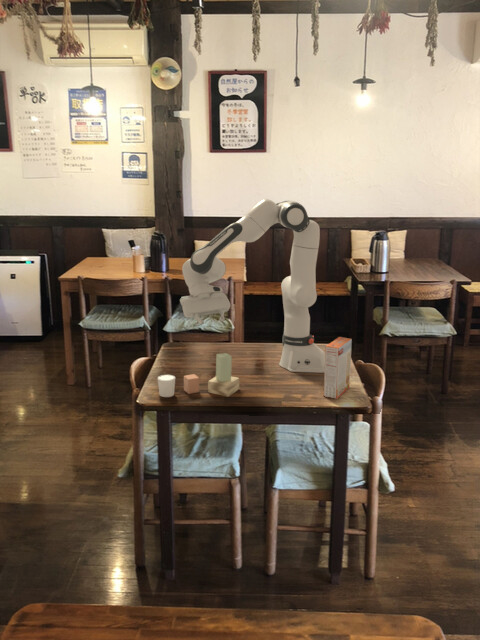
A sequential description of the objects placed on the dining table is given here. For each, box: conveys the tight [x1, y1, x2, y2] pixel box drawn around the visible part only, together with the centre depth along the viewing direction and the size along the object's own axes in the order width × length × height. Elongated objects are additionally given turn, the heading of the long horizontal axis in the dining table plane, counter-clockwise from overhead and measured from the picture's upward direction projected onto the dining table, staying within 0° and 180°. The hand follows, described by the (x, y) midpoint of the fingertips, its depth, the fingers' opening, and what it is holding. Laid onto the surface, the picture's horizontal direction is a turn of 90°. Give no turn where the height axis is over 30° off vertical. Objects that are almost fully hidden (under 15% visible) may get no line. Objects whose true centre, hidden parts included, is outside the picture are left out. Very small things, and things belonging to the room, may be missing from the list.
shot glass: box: [157, 374, 176, 398], centre depth 238 cm, size 7×7×7 cm
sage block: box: [215, 352, 233, 382], centre depth 241 cm, size 4×4×10 cm
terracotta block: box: [183, 373, 200, 395], centre depth 242 cm, size 4×4×6 cm
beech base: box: [207, 375, 240, 397], centre depth 243 cm, size 9×9×5 cm
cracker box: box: [323, 336, 353, 400], centre depth 240 cm, size 14×6×21 cm, turn 150°
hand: (212, 322), depth 251 cm, fingers open, 8 cm apart
